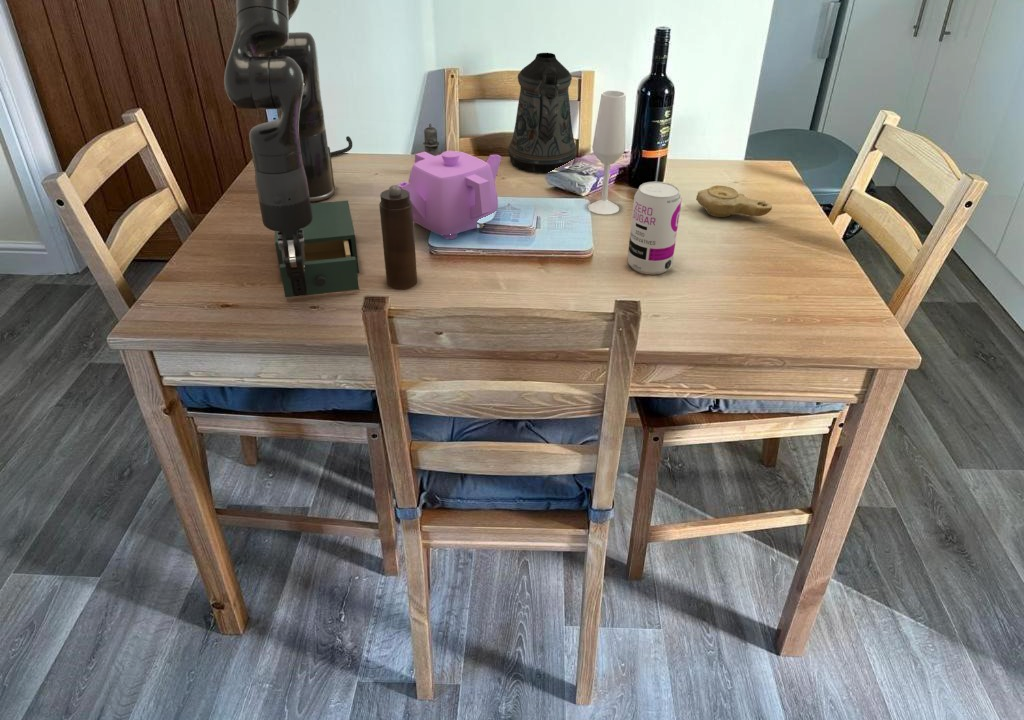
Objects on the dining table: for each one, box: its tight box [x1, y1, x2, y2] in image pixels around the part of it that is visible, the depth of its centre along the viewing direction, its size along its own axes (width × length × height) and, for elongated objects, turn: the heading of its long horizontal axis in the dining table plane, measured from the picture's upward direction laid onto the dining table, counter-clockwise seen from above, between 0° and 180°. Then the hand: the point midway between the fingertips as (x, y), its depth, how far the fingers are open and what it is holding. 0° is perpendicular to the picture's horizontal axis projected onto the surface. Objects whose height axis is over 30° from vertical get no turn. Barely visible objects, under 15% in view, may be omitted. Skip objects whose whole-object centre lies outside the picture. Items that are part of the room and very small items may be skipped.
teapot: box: [396, 150, 502, 240], centre depth 151 cm, size 19×18×15 cm
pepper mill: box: [378, 184, 418, 291], centre depth 130 cm, size 5×5×18 cm
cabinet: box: [274, 199, 360, 274], centre depth 140 cm, size 16×14×8 cm
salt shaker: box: [422, 123, 440, 156], centre depth 174 cm, size 6×6×12 cm
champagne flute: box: [587, 89, 627, 215], centre depth 156 cm, size 7×7×24 cm
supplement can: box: [627, 181, 683, 276], centre depth 137 cm, size 8×8×15 cm
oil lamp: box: [695, 184, 773, 218], centre depth 160 cm, size 11×14×5 cm
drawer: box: [279, 239, 360, 299], centre depth 133 cm, size 16×12×6 cm
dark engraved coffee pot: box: [507, 52, 578, 174], centre depth 177 cm, size 16×19×25 cm
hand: (300, 293), depth 126 cm, fingers closed
